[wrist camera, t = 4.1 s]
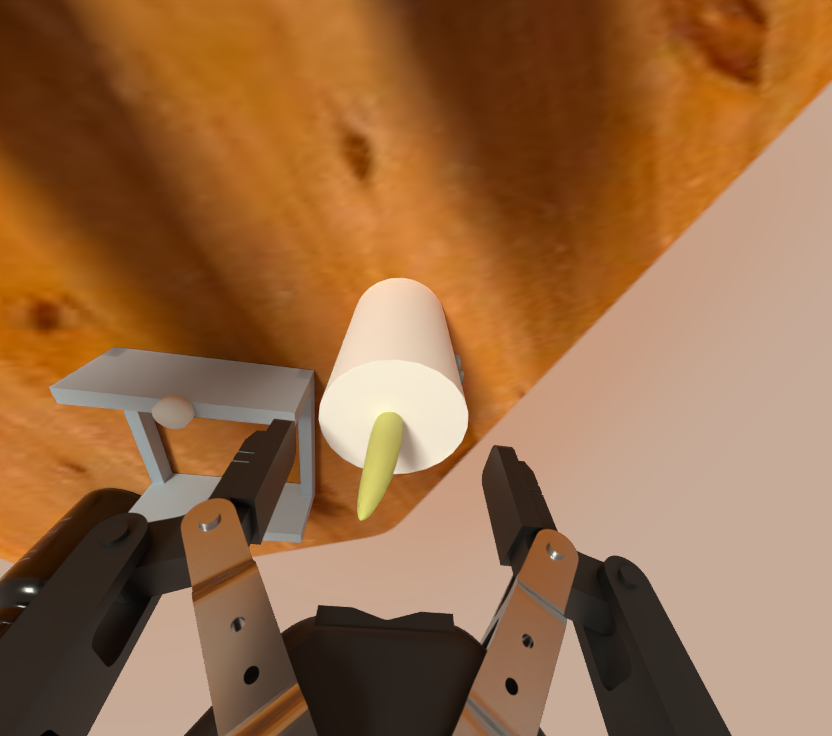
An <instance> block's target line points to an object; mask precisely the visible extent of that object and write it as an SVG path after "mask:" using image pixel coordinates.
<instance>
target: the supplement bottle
mask: <svg viewBox="0 0 832 736" xmlns="http://www.w3.org/2000/svg"><path fill="white" fill-rule="evenodd" d="M139 499H140V496H138V495H136V494H134V493H131V492H128V491H124V490H120V489H111V488H106V489H99V490H95V491H92V492H90V493H88V494H87V495H85V496H84V497H83V498H82V499H81V500H80V501H79V502H78V503H77V504H76V505H74V506H73V507H72V508H71V509H70V510H69V511H68V512H67V513H66V514H65V515H64V516H63V517H62V518H61V519H60V520H59V521H58V522H57V523H56V524H55V525H54V526H53V527H52V528H51V529H50V530H49V531H48V532H47V533H46V534H45V535H44V536H43V537H42V538H41V539H40V540H39V541H38V542H37V543H36V544H35V545H34V546H33V547H32V548H31V549H30V550H29V551H28V552H27V553H26V554H25V555H24V556H23V557H22V558H21V559H20V560H19V561H18V562H17V563H16V564H15V565H14V566H13V567H12V568H11V569H10V570H8V572H6V573H5V574H4V575H3V576H2V578H0V639H1V638H2V636H3V635H4V634H5V633H6V632H7V630H8V629H9V628H10V627H11V626H12V624H13V623H14V622H15V621H16V620H17V618H18V617H19V616H20V615H21V613H22V612H23V611H24V610H25V609H26V607H27V606H28V605H29V604H30V603H31V601H32V600H33V599H34V598H35V596H36V595H37V594H38V593H39V592H40V590H41V589H42V588H43V587H44V586H45V584H46V583H47V582H48V581H49V580H50V578H51V577H52V576H53V575H54V573H55V572H56V571H57V570H58V569H59V567H60V566H61V565H62V564H63V563H64V561H65V560H66V559H67V558H68V557H69V555H70V554H71V553H72V552H73V550H74V549H75V548H76V547H77V546H78V544H79V543H80V542H81V541H82V540H83V538H84V537H85V536H86V535H87V534H88V533H89V532H90V530H92V529H93V528H94V527H95V526H96V525H98V524H99V523H101V522H102V521H104V520H106V519H108V518H110V517H113V516H115V515H118V514H122V513H128V512H129V511H130V510H131V509H132V507H133V506H134V505H135V504H136V502H137V501H138V500H139Z"/></svg>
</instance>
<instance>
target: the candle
mask: <svg viewBox="0 0 832 736" xmlns="http://www.w3.org/2000/svg"><path fill="white" fill-rule="evenodd" d="M460 369H461V359H460V355H458V354H454V352H453V348H452V344H451V340H450V335H449V331H448V327H447V323H446V319H445V315H444V311H443V308H442V305H441V303H440V301H439V300H438V298H437V296H436V295H435V294H434V293H433V292H432V291H431V290H430V289H429V288H428V287H427V286H425V285H423V284H421V283H419V282H417V281H415V280H410V279H406V278H390V279H387V280H384V281H381V282H378V283H376V284H375V285H373V286H372V287H370V288H369V289H368V290H367V291H366V292H365V293H364V294H363V295H362V297H361V298H360V300H359V302H358V304H357V307H356V309H355V312H354V314H353V317H352V320H351V322H350V325H349V328H348V330H347V333H346V336H345V338H344V341H343V344H342V347H341V349H340V352H339V355H338V357H337V360H336V363H335V365H334V368H333V371H332V373H331V376H330V379H329V381H328V384H327V387H326V389H325V392H324V395H323V398H322V400H321V403H320V409H319V423H320V427H321V431H322V434H323V436H324V438H325V439H326V441H327V442H328V444H329V445H330V447H331V448H332V449H333V450H334V451H335V452H336V453H337V454H338V455H340V456H341V457H342V458H343V459H345V460H346V461H348V462H350V463H352V464H354V465H355V466H357V467H360V468H363V471H362V476H361V482H360V487H359V493H358V501H357V513H358V518H359V520H360V521H362V520H365V519H366V518H367V517H369V516H370V515H371V514H372V513H373V511H374V510H375V509H376V508H377V506H378V505H379V503H380V501H381V500H382V498H383V496H384V494H385V492H386V490H387V488H388V486H389V484H390V481H391V479H392V476H393V474H405V473H412V472H416V471H420V470H425V469H427V468H429V467H431V466H434V465H436V464H438V463H440V462H441V461H443V460H444V459H445V458H447V457H448V456H449V455H451V454H452V453H453V452H454V451H455V449H456V448H457V447H458V446H459V444H460V443H461V442H462V440H463V438H464V435H465V433H466V430H467V427H468V410H467V405H466V401H465V397H464V393H463V389H462V383H463V379H464V371H460Z"/></svg>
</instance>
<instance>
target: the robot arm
mask: <svg viewBox="0 0 832 736" xmlns="http://www.w3.org/2000/svg"><path fill="white" fill-rule="evenodd" d="M295 454H296V433H295V422H294V421H290V420H282V419H273V421H272V422H271V424H270V426H269V428H268V429H267V431H256V432H255V433H253V434H252V435H251V436H249V437H248V438H247V439H245V441H244V443H243V444H242V446H241V447H240V449H239V452H238V453H237V454H236V455H235V457H234V459H233V462H231V464H230V465H229V467H228V468H227V470H226V472H225V473H224V475H223V476H222V478H221V480H220V481H219V483H218V484H217V486H216V488H215V489H214V491H213V492H212V494H211V496H210V497H209V498H208V500H206V501H203V502H201V503H199V504H197V505H196V506H194V507H193V508H192V509H191V510H190V511H188V513H187V514H185V515H182V516H178V517H174V518H169V519H163V520H158V521H152V522H148V521H147V519H146V518H145V517H144V516H143V515H141V514H139V513H133V512H132V513H122V514H118V515H115V516H113V517H110V518H108V519H106V520H104V521H102V522H101V523H99V524H98V525H96V526H95V527H94V528H93V529H92V530H90V532H89V533H88V534H87V535H86V536H85V537H84V538H83V540H82V541H81V542H80V543H79V544H78V546H77V547H76V548H75V549H74V550H73V552H72V553H71V554H70V555H69V557H68V558H67V559H66V560H65V561H64V563H63V564H62V565H61V566H60V567H59V569H58V570H57V571H56V572H55V573H54V575H53V576H52V577H51V578H50V580H49V581H48V582H47V583H46V584H45V586H44V587H43V588H42V589H41V590H40V592H39V593H38V594H37V595H36V596H35V598H34V599H33V600H32V601H31V603H30V604H29V605H28V606H27V607H26V609H25V610H24V611H23V612H22V613H21V615H20V616H19V617H18V618H17V620H16V621H15V622H14V623H13V624H12V626H11V627H10V628H9V629H8V630H7V632H6V633H5V634H4V635H3V636H2V638H1V639H0V736H87V735H88V733H89V731H90V729H91V727H92V725H93V724H94V722H95V720H96V718H97V716H98V714H99V712H100V710H101V709H102V706H103V705H104V703H105V701H106V699H107V697H108V695H109V693H110V692H111V690H112V688H113V686H114V684H115V682H116V680H117V678H118V677H119V675H120V673H121V671H122V669H123V667H124V665H125V663H126V662H127V660H128V658H129V656H130V654H131V652H132V650H133V648H134V646H135V645H136V643H137V641H138V639H139V637H140V635H141V633H142V631H143V629H144V627H145V626H146V624H147V622H148V620H149V618H150V616H151V615H152V612H153V611H154V609H155V607H156V605H157V603H158V601H159V599H160V598H161V596H162V594H165V593H169V592H173V591H177V590H181V589H184V588H189V587H192V591H193V592H192V599H193V606H194V611H195V616H196V621H197V626H198V632H199V637H200V642H201V648H202V653H203V658H204V664H205V669H206V674H207V679H208V685H209V690H210V695H211V701H212V706H211V707H210V708H209V709H208V711H206V713H205V714H204V715H203V716H202V717H201V718H200V719H199V720H198V721H197V722H196V723H195V724H194V725H193V726H192V728H191V729H190V730H189V731H188V732H187V733H186V734H185V735H184V736H546V735H545V734H544V732H543V731H542V729H541V728H540V727H539V726H540V722H541V718H542V715H543V711H544V707H545V704H546V700H547V696H548V693H549V689H550V685H551V681H552V677H553V674H554V670H555V666H556V662H557V659H558V655H559V651H560V647H561V644H562V640H563V636H564V633H565V629H566V624H567V619H570V620H572V621H573V624H574V627H575V630H576V633H577V636H578V639H579V643H580V646H581V649H582V652H583V655H584V659H585V662H586V665H587V668H588V672H589V675H590V678H591V681H592V684H593V687H594V690H595V694H596V697H597V700H598V703H599V707H600V710H601V713H602V716H603V719H604V722H605V726H606V729H607V732H608V735H609V736H731V734H730V732H729V730H728V728H727V727H726V724H725V722H724V721H723V719H722V717H721V716H720V713H719V711H718V709H717V708H716V706H715V704H714V702H713V700H712V698H711V696H710V695H709V693H708V691H707V689H706V687H705V685H704V683H703V681H702V680H701V678H700V676H699V674H698V672H697V670H696V668H695V666H694V664H693V663H692V661H691V659H690V657H689V655H688V654H687V652H686V650H685V648H684V646H683V644H682V642H681V640H680V638H679V636H678V635H677V633H676V631H675V629H674V627H673V625H672V623H671V621H670V620H669V618H668V616H667V614H666V612H665V610H664V609H663V607H662V605H661V603H660V601H659V599H658V597H657V595H656V593H655V592H654V590H653V588H652V586H651V584H650V582H649V580H648V579H647V577H646V576H645V574H644V573H643V572H642V571H641V570H640V569H639V568H638V567H637V566H636V565H635V564H634V563H632V562H631V561H629V560H627V559H625V558H623V557H620V556H610V557H608V558H607V559H606V560H605V561H604V562H602V561H599V560H597V559H594V558H592V557H589V556H587V555H584V554H582V553H580V552H578V551H576V549H575V547H574V545H573V544H572V543H571V541H570V540H569V539H568V538H567V537H565V536H564V535H563V534H561V533H559V532H558V531H557V529H556V526H555V524H554V521H553V519H552V516H551V514H550V512H549V509H548V507H547V504H546V502H545V499H544V497H543V495H542V492H541V490H540V487H539V486H538V482H537V480H536V478H535V475H534V473H533V471H532V470H531V469H530V468H529V467H528V465H527V464H526V463H525V462H524V461H518V458H517V456H516V453H515V450H514V449H513V448H512V447H506V446H497V445H494V446H493V447H492V449H491V452H490V454H489V457H488V460H487V462H486V465H485V467H484V470H483V474H482V486H483V490H484V495H485V499H486V503H487V508H488V512H489V516H490V521H491V525H492V529H493V534H494V538H495V543H496V547H497V551H498V556H499V560H500V565H504V566H511V567H512V571H513V576H512V577H511V579H510V581H509V584H508V586H507V588H506V590H505V592H504V594H503V597H502V599H501V601H500V603H499V605H498V608H497V610H496V612H495V614H494V616H493V618H492V620H491V622H490V625H489V626H488V628H487V630H486V632H485V634H484V636H483V638H482V640H481V642H480V643H479V642H478V641H477V640H476V639H475V638H474V637H473V636H472V635H470V634H469V633H468V632H466V631H465V630H463V629H461V628H459V627H457V626H454V621H453V614H445V613H430V612H418V613H414V614H411V615H406V616H403V617H399V618H394V619H390V620H384V619H381V618H379V617H376V616H373V615H371V614H368V613H365V612H363V611H360V610H358V609H355V608H352V607H338V606H323V605H318V610H317V614H316V616H314V617H310V618H307V619H304V620H302V621H300V622H298V623H296V624H294V625H292V626H291V627H289V628H288V629H286V630H285V631H283V632H282V633H280V630H279V627H278V625H277V622H276V619H275V616H274V613H273V610H272V607H271V604H270V601H269V599H268V596H267V593H266V590H265V587H264V584H263V581H262V578H261V576H260V573H259V570H258V567H257V564H256V562H255V561H253V559H252V556H251V553H250V550H249V546H250V544H259V545H261V542H262V540H263V537H264V535H265V532H266V530H267V527H268V525H269V522H270V520H271V517H272V515H273V513H274V510H275V508H276V505H277V503H278V500H279V498H280V495H281V493H282V490H283V488H284V485H285V483H286V481H287V478H288V476H289V473H290V471H291V468H292V466H293V463H294V459H295Z"/></svg>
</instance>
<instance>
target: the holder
mask: <svg viewBox="0 0 832 736" xmlns="http://www.w3.org/2000/svg"><path fill="white" fill-rule="evenodd" d="M49 389H50V390H51V392H52V394H53V396H54V398H55V400H56V402H57V403H58V404H68V405H78V406H88V407H98V408H108V409H118V410H123V411H124V413H125V416H126V418H127V421H128V423H129V426H130V428H131V431H132V433H133V436H134V438H135V441H136V443H137V446H138V448H139V451H140V453H141V456H142V458H143V461H144V463H145V466H146V468H147V471H148V473H149V476H150V478H151V481H152V484H151V485H150V486H149V488H148V489H147V490H146V491H145V492H144V494H143V495H142V496H141V497H140V499H139V500H138V501H137V502H136V504H135V505H134V506H133V507H132V509H131V510H130V511H129V512H128V513H132V512H133V513H139V514H141V515H143V516H144V517H145V518H146V519H147V521H148V522H152V521H158V520H163V519H169V518H174V517H178V516H182V515H185V514H187V513H188V511H190V510H191V509H192V508H193V507H194V506H196V505H197V504H199V503H201V502H203V501H206V500H208V498H209V497H210V496H211V494H212V492H213V491H214V489H215V488H216V486H217V484H218V483H219V481H220V480H221V478H222V477H214V476H202V475H190V474H178V473H172V470H171V467H170V464H169V461H168V458H167V456H166V453H165V450H164V447H163V444H162V441H161V438H160V435H159V432H158V430H157V427H156V424H155V421H154V419H155V420H156V421H157V422H158V423H159V424H160V425H162V426H164V427H166V428H170V429H182V428H184V427H186V426H187V425H188V423H189V422H190V421H191V420H192V419H193V418H194V417H198V418H208V419H218V420H228V421H238V422H248V423H258V424H268V425H270V424H271V422H272V421H273V419H282V420H290V421H294V422H295V427H296V425H297V422H298V432H299V454H300V476H301V484H298V483H285V485H284V488H283V490H282V493H281V495H280V498H279V500H278V503H277V505H276V508H275V510H274V513H273V515H272V517H271V520H270V522H269V525H268V527H267V530H266V532H265V535H264V537H263V540H265V541H280V542H295V543H301V542H302V538H303V535H304V531H305V528H306V524H307V521H308V517H309V514H310V510H311V507H312V503H313V500H314V496H315V392H314V370H307V369H299V368H290V367H282V366H273V365H265V364H256V363H248V362H239V361H231V360H222V359H213V358H205V357H196V356H188V355H179V354H171V353H162V352H154V351H145V350H137V349H128V348H120V347H114V348H112V349H110V350H109V351H107V352H105V353H104V354H102V355H101V356H99V357H97V358H96V359H94V360H92V361H91V362H89V363H87V364H86V365H84V366H83V367H81V368H79V369H78V370H76V371H74V372H73V373H71V374H70V375H68V376H66V377H65V378H63V379H61V380H60V381H58V382H56V383H55V384H53V385H52V386H50V387H49Z"/></svg>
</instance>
